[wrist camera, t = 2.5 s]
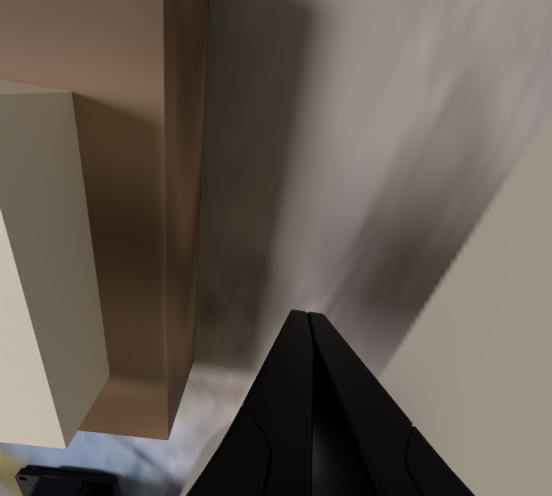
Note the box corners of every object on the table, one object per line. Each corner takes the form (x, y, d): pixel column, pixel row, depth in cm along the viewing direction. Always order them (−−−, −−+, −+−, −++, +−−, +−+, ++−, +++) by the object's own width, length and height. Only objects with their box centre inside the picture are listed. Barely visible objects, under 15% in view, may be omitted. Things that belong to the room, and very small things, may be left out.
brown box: (192, 362, 16) (167, 440, 13) (-49, 332, 16) (-146, 405, 12) (210, -37, 9) (161, -118, 5) (-250, -127, 8) (-657, -286, 5)
